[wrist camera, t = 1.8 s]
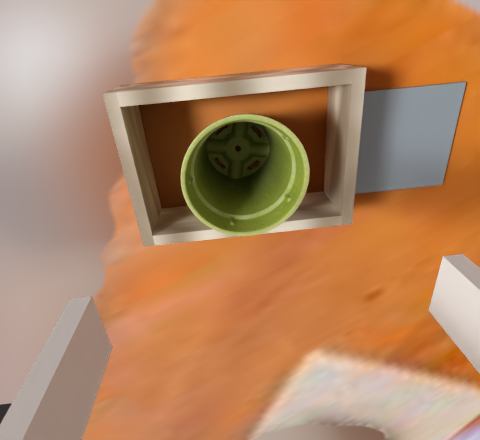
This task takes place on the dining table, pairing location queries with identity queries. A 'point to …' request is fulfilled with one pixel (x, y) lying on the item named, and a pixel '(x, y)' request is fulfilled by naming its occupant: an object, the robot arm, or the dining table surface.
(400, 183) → the mat
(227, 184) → the plant pot
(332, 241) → the dining table surface
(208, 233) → the frame
